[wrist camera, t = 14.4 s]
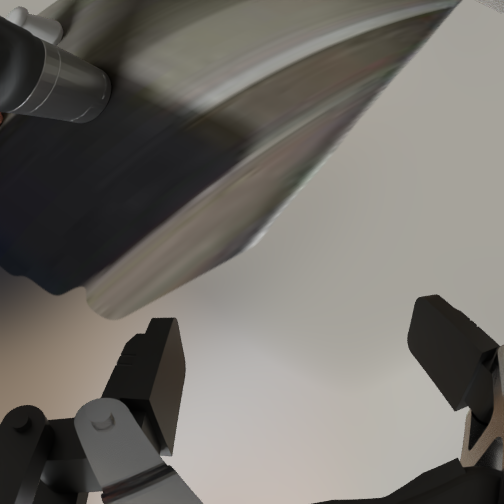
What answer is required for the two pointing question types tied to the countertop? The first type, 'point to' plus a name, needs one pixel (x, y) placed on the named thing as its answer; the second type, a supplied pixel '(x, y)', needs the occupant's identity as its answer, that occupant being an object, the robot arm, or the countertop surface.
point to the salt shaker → (37, 25)
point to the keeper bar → (494, 4)
